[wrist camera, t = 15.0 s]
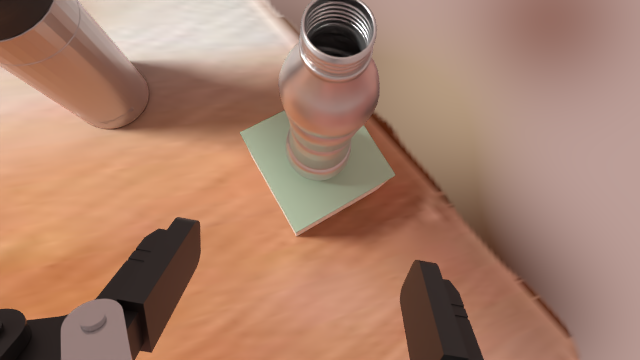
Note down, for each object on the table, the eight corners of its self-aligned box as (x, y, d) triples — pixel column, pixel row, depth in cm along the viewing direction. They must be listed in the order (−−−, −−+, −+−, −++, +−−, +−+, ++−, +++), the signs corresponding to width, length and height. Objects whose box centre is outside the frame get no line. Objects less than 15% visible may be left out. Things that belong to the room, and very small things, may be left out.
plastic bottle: (338, 120, 36) (385, -44, 16) (353, 179, 34) (425, 77, 15) (280, 131, 35) (256, -26, 15) (293, 192, 33) (285, 102, 14)
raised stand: (250, 155, 42) (239, 132, 34) (333, 112, 44) (341, 82, 37) (296, 237, 40) (295, 232, 32) (380, 188, 42) (399, 172, 35)
